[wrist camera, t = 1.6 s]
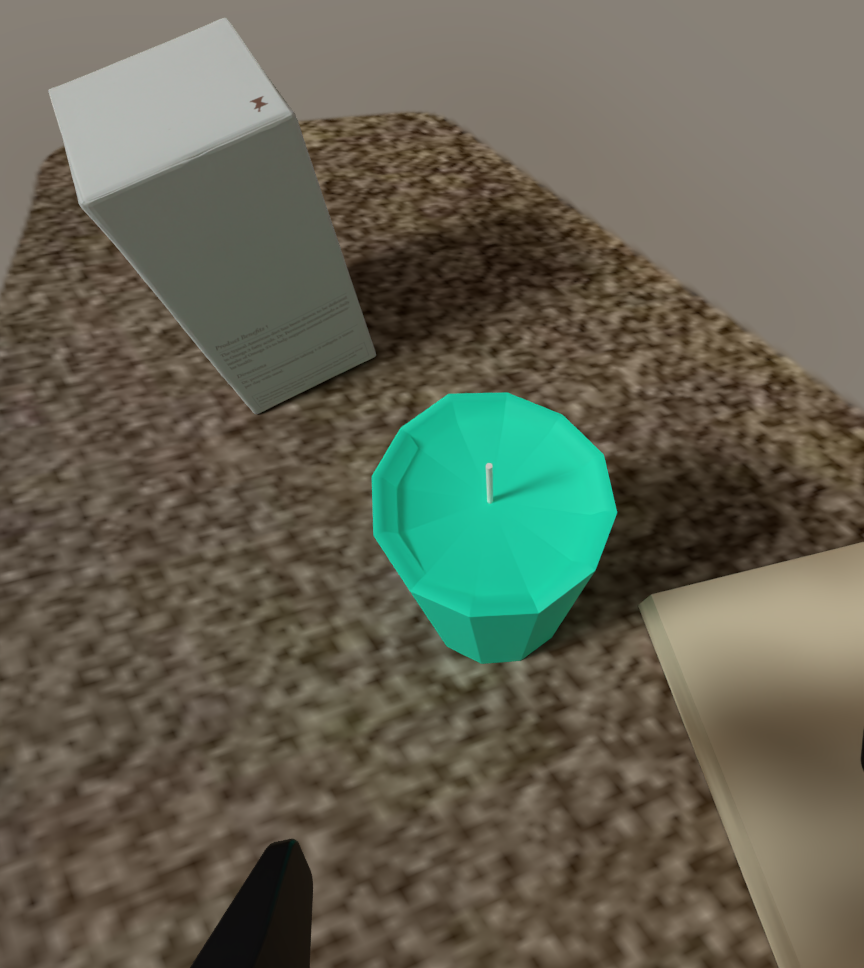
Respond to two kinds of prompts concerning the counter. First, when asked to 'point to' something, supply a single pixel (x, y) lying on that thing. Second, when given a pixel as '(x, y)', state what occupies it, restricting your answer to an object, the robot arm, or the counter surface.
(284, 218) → the supplement box
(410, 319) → the counter surface
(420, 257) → the counter surface
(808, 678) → the beige square slab
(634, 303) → the counter surface
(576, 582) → the candle
